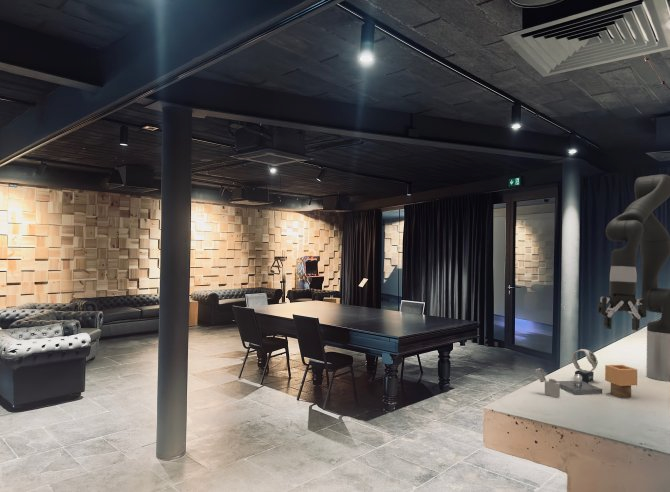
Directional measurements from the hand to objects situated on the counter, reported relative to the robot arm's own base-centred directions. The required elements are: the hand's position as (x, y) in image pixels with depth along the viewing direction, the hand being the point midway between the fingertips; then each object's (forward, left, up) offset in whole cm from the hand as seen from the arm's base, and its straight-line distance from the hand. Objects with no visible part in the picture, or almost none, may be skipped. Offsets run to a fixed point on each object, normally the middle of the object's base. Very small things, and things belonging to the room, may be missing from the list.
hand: (621, 329), depth 151 cm
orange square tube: (+3, +3, -17) cm, 17 cm away
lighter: (+27, 0, -21) cm, 34 cm away
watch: (+2, -14, -21) cm, 25 cm away
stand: (+3, +3, -21) cm, 21 cm away
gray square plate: (+13, -4, -21) cm, 25 cm away
